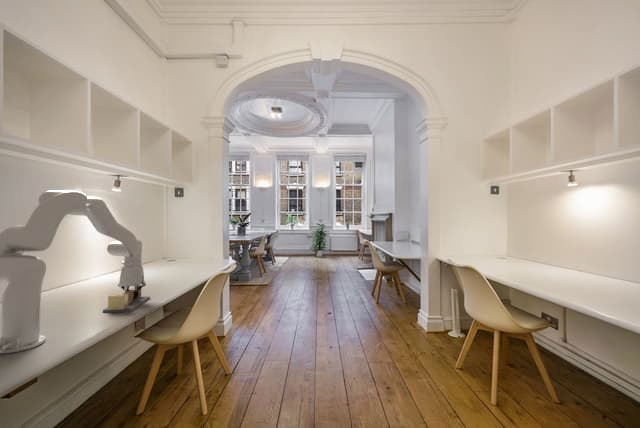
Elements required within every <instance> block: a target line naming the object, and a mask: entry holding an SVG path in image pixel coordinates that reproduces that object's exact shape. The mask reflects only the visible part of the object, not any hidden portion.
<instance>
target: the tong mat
mask: <svg viewBox="0 0 640 428" xmlns="http://www.w3.org/2000/svg"><path fill="white" fill-rule="evenodd" d="M149 299H151V298H150V295H149V296H147V295H146V296H144V295H143V296H140V297H139V298H137V299H136V300H134V301H132V302H131V303H129V304H128V307H127V308H125V309H124V310H108V306H107V307H106V308H104V309H103V310H102V313H103V314H104V313H105V314H106V313H130V312H132V311H134V310H136V309H137V308H139V307H140V306H142V304H144V303H145V302H147V301H148V300H149Z"/></svg>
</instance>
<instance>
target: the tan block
mask: <svg viewBox="0 0 640 428" xmlns="http://www.w3.org/2000/svg"><path fill="white" fill-rule="evenodd" d="M107 297H108V298H107V299H108V300H107V307H108V310H124V309H125V308H127V307H128V294H123V293H113V294H111V295H108V296H107Z"/></svg>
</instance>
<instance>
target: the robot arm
mask: <svg viewBox="0 0 640 428" xmlns="http://www.w3.org/2000/svg"><path fill="white" fill-rule="evenodd" d="M67 215H71V216H85V217H87V219H88V220H89V221H90V223H91V224H92V226H93V227H94V229H95V230H96V231H97V232H98V233H99V234H101V235H102V236H106V237H109V238H112V239H114V241H111V242H110V243H109V244H108V245H107V248H106V251H107V253H108V254H109V255H110V256H115V257H124V260H123V261H121V265H123V266H122V267H121V270H120V273H119V274H120V275H119V283H118V284H117V287H119V288H120V289H122V290H123V293H125V292H127V291H129V290H130V287H135V292H134V299H136V298H138V296H139V290H140V289H141V290H142V288H144V287H145V286H146V287H147V282H146V281H145V274H144V266H143V265H142V255H143V254H142V251H143V241H141V240H140V239H137V237H136V236H135V234H134V233H133V232H132V231H131V230H129V229H128V228H126V227H125V226H123V225H122V224H120V223H119V222H118V221H117V220H116V219H115V217H114V216H113V214H112V212H111V210H110V209H109V207H108V206H107V204H106V202H105V201H104V200H103V199H102V198H100V197H95V196H88V195H86V194H85V193H84V192H82V191H78V190H46V191H44V192H42V193H41V194H40V196H39V198H38V205H37V206H36V207H35V209H33V211H32V212H31V215H30V216H29V218H28V220H27V222H26V224H25V225H12V226H8V227H6V228H5V229H4V230H2V231H1V232H0V282H1V283H4V282H5V283H8V284H7V286H6V287H5V289H4V291H3V294H2V298H1V299H2V301H1V323H0V324H1V325H0V354H11V353H13V354H14V353H17V352H22V351H26V350H29V349H33V348H35V347H38V346H40V345H42V344H43V343H45V341H46V336H45V335H43V334H41V333H40V332H41V314H42V313H41V311H42V307H41V306H42V289H43V284H44V278H45V275H46V272H47V264H46V263H45V261H44V260H43V259H42V258H40V257H39V256H35V255H30V254H29V255H27V254H24V253H41V252H45V251H46V250H48V249H49V248H50V247H51V245H52V243H53V241H54V240H55V239H54V238H55V237H56V234H57V231H58V229H59V226H60V224H61V222H62V221H63V219H64V218H65V217H66V216H67Z"/></svg>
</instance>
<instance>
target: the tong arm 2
mask: <svg viewBox="0 0 640 428" xmlns="http://www.w3.org/2000/svg"><path fill="white" fill-rule="evenodd" d="M134 292H135V289H134V290H132V291H130V292H128V293H127V294H128V304H129V303H131V302H132V301H134V300H136V299H137V298H136V299H134ZM139 297H142V288H141V289H140V290H139V296H138V298H139Z"/></svg>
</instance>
